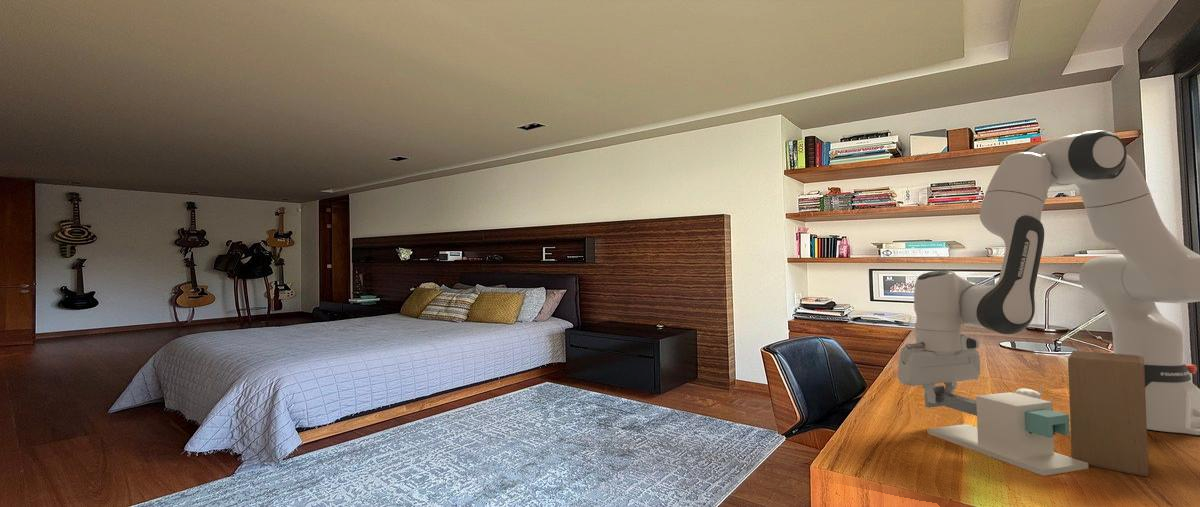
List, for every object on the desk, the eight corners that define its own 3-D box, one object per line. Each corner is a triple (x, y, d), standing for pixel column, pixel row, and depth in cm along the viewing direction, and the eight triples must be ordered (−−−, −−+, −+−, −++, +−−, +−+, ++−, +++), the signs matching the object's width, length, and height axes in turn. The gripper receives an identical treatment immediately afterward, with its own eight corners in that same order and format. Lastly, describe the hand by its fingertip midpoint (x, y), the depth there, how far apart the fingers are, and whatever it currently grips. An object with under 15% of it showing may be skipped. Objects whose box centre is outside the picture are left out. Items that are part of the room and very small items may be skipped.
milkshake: (1051, 433, 114) (1049, 387, 114) (1023, 432, 115) (1022, 387, 115) (1038, 426, 118) (1036, 383, 118) (1011, 426, 119) (1010, 382, 119)
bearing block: (966, 428, 118) (964, 380, 118) (1088, 468, 95) (1086, 408, 95) (927, 433, 115) (925, 384, 116) (1043, 475, 92) (1040, 414, 92)
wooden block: (1147, 461, 97) (1143, 355, 98) (1148, 478, 90) (1144, 363, 91) (1075, 448, 104) (1072, 349, 105) (1071, 462, 98) (1067, 357, 98)
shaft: (941, 404, 121) (940, 385, 121) (1059, 439, 97) (1058, 415, 97) (925, 406, 120) (924, 386, 120) (1040, 442, 95) (1039, 417, 95)
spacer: (1046, 428, 99) (1045, 408, 99) (1069, 434, 95) (1068, 414, 95) (1025, 430, 98) (1025, 411, 98) (1048, 437, 94) (1048, 417, 94)
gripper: (912, 346, 113) (914, 409, 113) (985, 340, 118) (987, 401, 118) (889, 342, 119) (891, 402, 119) (959, 336, 124) (961, 394, 124)
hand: (940, 401), depth 118 cm, fingers closed on shaft, 3 cm apart
